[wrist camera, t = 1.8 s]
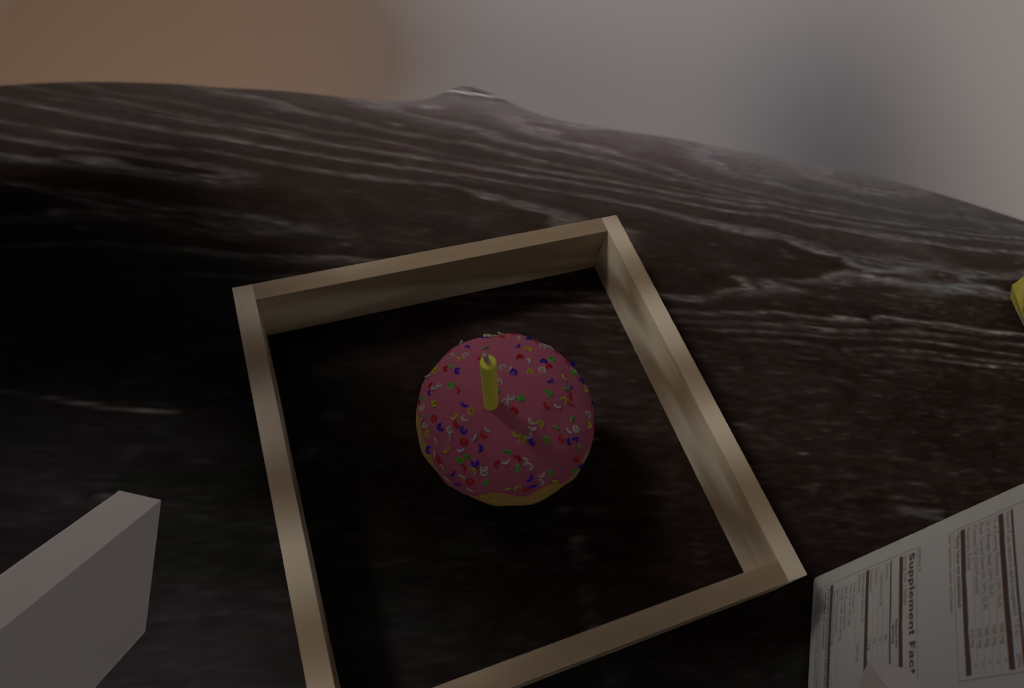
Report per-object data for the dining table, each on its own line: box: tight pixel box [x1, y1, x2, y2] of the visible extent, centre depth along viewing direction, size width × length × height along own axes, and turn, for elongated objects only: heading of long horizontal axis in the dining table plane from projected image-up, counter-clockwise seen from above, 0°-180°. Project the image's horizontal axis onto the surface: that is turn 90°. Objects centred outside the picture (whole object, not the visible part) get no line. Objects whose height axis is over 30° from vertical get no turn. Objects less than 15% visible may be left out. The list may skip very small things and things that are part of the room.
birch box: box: [232, 215, 807, 688], centre depth 35 cm, size 22×22×4 cm
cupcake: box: [416, 332, 595, 506], centre depth 32 cm, size 9×8×12 cm
